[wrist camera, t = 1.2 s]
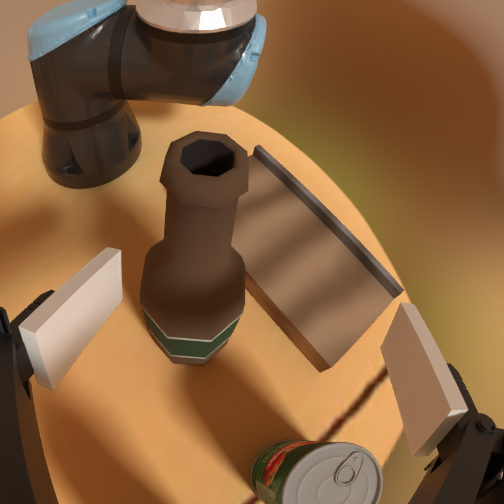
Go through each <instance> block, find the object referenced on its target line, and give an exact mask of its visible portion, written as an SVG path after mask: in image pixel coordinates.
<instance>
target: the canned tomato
mask: <svg viewBox="0 0 504 504" xmlns="http://www.w3.org/2000/svg"><path fill="white" fill-rule="evenodd" d="M250 480H251V486H252V488H253V491H254V492H255V494H256V496H257V497H258V498H259V499H260V500H261V501H262V502H264V503H265V504H378V502H379V499H380V496H381V492H382V485H383V478H382V472H381V468H380V465H379V463H378V462H377V460H376V458H375V457H374V456H373V455H372V454H371V453H370V452H369V451H368V450H366V449H365V448H363V447H361V446H359V445H356V444H353V443H347V442H319V441H303V440H295V439H288V440H282V441H279V442H276V443H273V444H271V445H270V446H268V447H266V448H265V449H264V450H263V451H262V452H261V453H260V454H259V455H258V456H257V458H256V459H255V461H254V463H253V465H252V468H251V474H250Z"/></svg>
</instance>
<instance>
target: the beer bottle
mask: <svg viewBox="0 0 504 504" xmlns="http://www.w3.org/2000/svg"><path fill="white" fill-rule="evenodd" d="M159 182H160V183H161V184H162V185H163V186H164V187H165V188H166V189H167V199H166V213H165V230H164V239H163V240H161V241H160V242H158V243H157V244H155V245H154V246H152V247H151V248H150V250H149V252H148V253H147V255H146V258H145V264H144V270H143V276H142V282H141V289H140V302H141V307H142V310H143V313H144V316H145V319H146V322H147V325H148V328H149V331H150V334H151V336H152V338H153V340H154V342H155V343H156V344H157V345H158V346H159V348H160V349H161V350H162V351H163V352H164V353H165V355H166V356H167V357H168V358H169V359H170V360H171V361H172V363H176V364H187V365H200V366H203V365H204V364H205V363H206V362H207V361H208V360H210V359H211V358H212V357H213V356H214V355H215V354H217V353H218V352H219V351H220V350H221V349H222V348H223V347H224V346H225V345H226V344H227V342H228V340H229V338H230V336H231V334H232V333H233V331H234V329H235V327H236V325H237V323H238V321H239V319H240V317H241V315H242V313H243V309H244V306H245V263H244V261H243V258H242V256H241V255H240V254H239V253H238V252H237V251H236V250H235V249H234V248H233V247H232V246H231V241H232V235H233V229H234V223H235V216H236V210H237V204H238V198H239V197H240V196H241V195H243V194H244V193H246V192H248V182H249V164H248V155H247V151H246V150H245V149H244V148H242V147H241V146H240V145H239V144H237V143H236V142H235V141H234V140H232V139H231V138H230V137H229V136H227V135H226V134H218V133H210V132H201V131H195V132H192V133H190V134H188V135H186V136H184V137H182V138H180V139H177V140H175V141H173V142H171V144H170V146H169V149H168V151H167V154H166V156H165V160H164V164H163V168H162V172H161V177H160V181H159Z"/></svg>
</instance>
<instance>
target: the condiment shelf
mask: <svg viewBox="0 0 504 504" xmlns="http://www.w3.org/2000/svg"><path fill="white" fill-rule="evenodd" d="M248 164H249V182H248V192H246V193H244V194H243V195H241V196H240V197H239V198H238V204H237V210H236V216H235V223H234V229H233V235H232V241H231V246H232V247H233V248H234V249H235V250H236V251H237V252H238V253H239V254H240V255H241V256H242V258H243V261H244V263H245V288H246V289H247V290H248V291H249V292H250V294H251V295H252V296H253V297H254V298H255V299H256V301H257V302H258V303H259V304H260V305H261V306H262V307H263V309H264V310H265V311H266V312H267V313H268V314H269V315H270V317H271V318H272V319H273V320H274V321H275V322H276V324H277V325H278V326H279V327H280V328H281V329H282V330H283V332H284V333H285V334H286V335H287V336H288V337H289V338H290V339H291V341H292V342H293V343H294V344H295V345H296V346H297V347H298V348H299V350H300V351H301V352H302V353H303V354H304V355H305V356H306V357H307V359H308V360H309V361H310V362H311V363H312V364H313V365H314V366H315V368H316V369H317V370H318V371H319V372H322V371H325V370H327V369H329V368H331V367H332V366H333V365H334V364H335V363H336V362H337V361H338V360H339V359H340V358H341V357H342V356H343V355H344V354H345V353H346V352H347V351H348V350H349V349H350V348H351V347H352V346H353V345H354V344H355V342H356V341H357V340H358V339H359V338H360V337H361V336H362V335H363V334H364V333H365V332H366V330H367V329H368V328H369V327H370V326H371V325H372V324H373V323H374V322H375V320H376V319H377V318H378V317H379V316H380V315H381V314H382V312H383V311H384V310H385V309H386V308H387V307H388V305H389V304H390V303H391V302H392V301H393V299H394V298H396V297H397V296H399V295H400V294H401V293H402V292H403V291H404V289H403V288H402V287H401V286H400V285H399V284H398V282H397V281H396V280H395V279H394V278H393V277H392V276H391V275H390V274H389V272H388V271H387V270H386V269H385V268H384V267H383V266H382V265H381V264H380V263H379V262H378V260H377V259H376V258H375V257H374V256H373V255H372V254H371V253H370V252H369V251H368V250H367V249H366V248H365V247H364V246H363V244H362V243H361V242H360V241H359V240H358V239H357V238H356V237H355V236H354V235H353V234H352V233H351V232H350V231H349V230H348V229H347V228H346V227H345V226H344V225H343V224H342V223H341V222H340V221H339V220H338V219H337V218H336V217H335V216H334V215H333V214H332V213H331V212H330V211H329V210H328V209H327V208H326V207H325V206H324V205H323V204H322V203H321V202H320V201H319V200H318V199H317V198H316V197H315V196H314V195H313V194H312V193H311V192H310V191H309V190H308V189H307V188H306V187H305V186H304V185H303V184H302V183H300V182H299V181H298V180H297V179H296V178H295V177H294V176H293V175H292V174H291V173H290V172H289V171H288V170H287V169H286V168H284V167H283V166H282V165H281V164H280V163H279V162H278V161H277V160H276V159H275V158H274V157H272V156H271V155H270V154H269V153H268V152H267V151H266V150H265V149H264V148H262V147H261V146H260V145H258V146H255V148H254V152H253V155H251V156H249V157H248Z"/></svg>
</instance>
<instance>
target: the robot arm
mask: <svg viewBox="0 0 504 504" xmlns="http://www.w3.org/2000/svg"><path fill="white" fill-rule="evenodd" d="M256 10H257V3H256V1H255V0H137V2H136V5H127V0H73V1H70V2H68V3H65V4H63V5H60V6H58V7H56V8H54V9H52V10H50V11H48V12H47V13H46V14H44V15H42V16H41V17H39V18H38V19H37V20H36V21H35V22H34V23H33V24H32V25H31V27H30V29H29V31H28V51H29V56H28V60H29V61H30V64H31V69H32V73H33V78H34V83H35V87H36V92H37V95H38V100H39V104H40V108H41V112H42V115H43V119H44V136H43V152H42V155H43V161H44V164H45V167H46V170H47V173H48V175H49V176H50V178H51V179H52V180H53V181H55V182H56V183H58V184H59V185H62V186H64V187H68V188H76V189H82V188H91V187H96V186H99V185H102V184H105V183H108V182H110V181H112V180H114V179H116V178H118V177H119V176H121V175H122V174H124V173H125V172H126V171H127V170H128V169H129V168H130V167H131V166H132V165H133V164H134V163H135V161H136V160H137V158H138V157H139V154H140V151H141V145H142V143H141V131H140V127H139V125H138V122H137V120H136V118H135V116H134V114H133V112H132V110H131V108H130V106H129V104H128V102H127V100H142V101H157V102H169V103H180V104H189V105H198V106H202V107H203V106H207V105H209V106H231V105H233V104H235V103H237V102H238V101H239V100H240V99H241V98H242V97H243V95H244V94H245V92H246V91H247V88H248V87H249V84H250V82H251V80H252V78H253V75H254V73H255V70H256V67H257V64H258V58H259V56H260V54H261V51H262V48H263V45H264V40H265V35H266V20H265V18H264V17H263V16H261V15H259V14H257V13H256ZM122 300H123V296H122V272H121V250H120V249H115V248H110V247H106V248H105V249H104V250H103V251H101V252H100V253H99V254H98V255H97V256H95V257H94V258H93V259H92V260H91V261H89V262H88V263H87V264H86V265H85V266H84V267H82V268H81V269H80V270H79V271H78V272H77V273H75V274H74V275H73V276H72V277H71V278H70V279H69V280H67V281H66V282H65V283H64V284H63V285H62V286H61V287H60V288H59V289H57V290H56V291H53V290H50V291H48V292H46V293H43V294H41V295H40V296H39V297H38V298H37V299H35V300H34V301H33V303H31V304H30V305H29V306H28V307H27V308H26V309H24V310H23V311H22V312H21V313H20V314H19V315H18V316H17V317H16V318H15V319H14V320H13V321H12V322H11V323H9V320H8V316H7V313H6V310H5V309H4V308H3V307H0V504H59V503H58V500H57V497H56V494H55V491H54V488H53V484H52V481H51V478H50V474H49V471H48V467H47V463H46V459H45V456H44V451H43V447H42V443H41V438H40V434H39V429H38V424H37V419H36V413H35V407H34V401H33V394H32V387H31V383H30V380H29V378H30V377H31V376H32V375H33V373H34V374H35V377H36V380H37V382H38V384H40V385H42V386H44V387H46V388H48V389H51V390H53V391H54V390H55V388H56V387H57V385H58V384H59V383H60V381H61V380H62V378H63V377H64V376H65V374H66V373H67V371H68V370H69V369H70V367H71V366H72V365H73V363H74V362H75V361H76V359H77V358H78V357H79V355H80V354H81V353H82V351H83V350H84V349H85V347H86V346H87V345H88V343H89V342H90V341H91V339H92V338H93V337H94V335H95V334H96V333H97V332H98V330H99V329H100V328H101V326H102V325H103V324H104V323H105V321H106V320H107V319H108V317H109V316H110V315H111V314H112V312H113V311H114V310H115V309H116V307H117V306H118V305H119V304H120V302H121V301H122ZM381 351H382V354H383V358H384V361H385V364H386V367H387V370H388V373H389V377H390V380H391V383H392V386H393V390H394V393H395V396H396V400H397V403H398V407H399V410H400V414H401V418H402V421H403V425H404V429H405V432H406V436H407V440H408V444H409V448H410V452H411V456H412V457H419V456H428V455H429V454H430V453H431V452H432V451H433V450H434V449H435V448H436V447H437V449H438V453H439V454H438V455H437V456H436V457H435V458H434V459H433V460H432V461H431V462H430V463H429V464H428V465H427V467H426V468H425V469H424V470H425V471H426V470H427V469H428V468H429V467H430V468H429V469H428V471H427V473H426V475H425V476H424V478H423V480H422V482H421V483H420V485H419V487H418V489H417V490H416V492H415V493H414V495H413V497H412V498H411V500H410V502H409V503H408V504H504V429H499V428H496V425H495V423H494V422H493V420H492V419H491V418H490V417H488V416H487V415H485V414H482V413H478V411H477V409H476V407H475V405H474V403H473V401H472V399H471V396H470V394H469V392H468V390H466V386H465V384H464V383H463V382H462V381H463V380H462V378H461V376H460V374H459V372H458V371H457V370H456V369H455V368H454V367H453V366H452V365H451V364H447V363H446V362H445V360H444V358H443V356H442V354H441V352H440V350H439V348H438V346H437V345H436V343H435V341H434V339H433V337H432V335H431V333H430V331H429V330H428V328H427V326H426V324H425V322H424V321H423V319H422V317H421V316H420V314H419V312H418V310H417V308H416V307H415V305H414V304H408V303H402V302H401V303H400V305H399V307H398V310H397V312H396V315H395V317H394V319H393V321H392V324H391V326H390V328H389V330H388V333H387V335H386V337H385V339H384V341H383V343H382V345H381ZM502 472H503V477H502V479H501V473H502Z"/></svg>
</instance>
